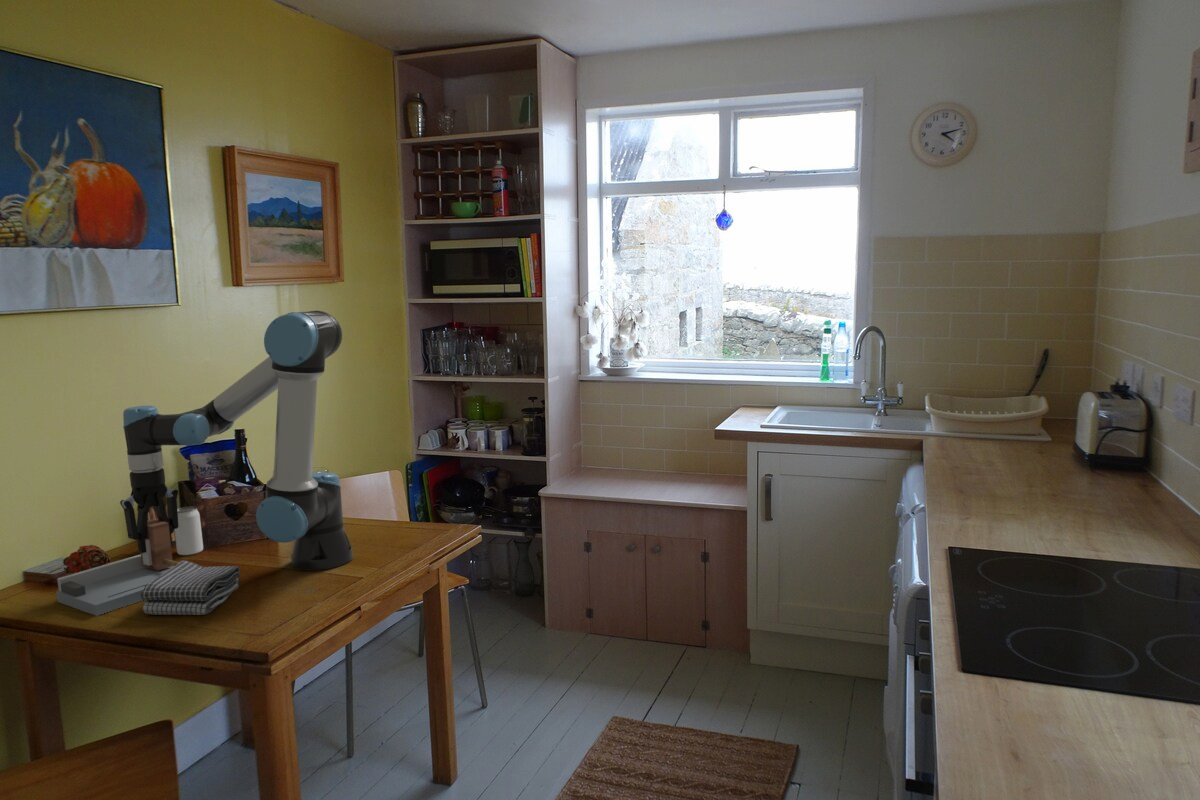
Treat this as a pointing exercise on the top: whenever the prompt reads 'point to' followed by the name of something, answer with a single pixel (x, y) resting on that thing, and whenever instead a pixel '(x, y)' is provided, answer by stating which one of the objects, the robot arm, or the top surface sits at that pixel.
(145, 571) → the board
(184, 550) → the can
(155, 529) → the brown blocky piece
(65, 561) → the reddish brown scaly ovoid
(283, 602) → the top surface
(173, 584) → the towel
